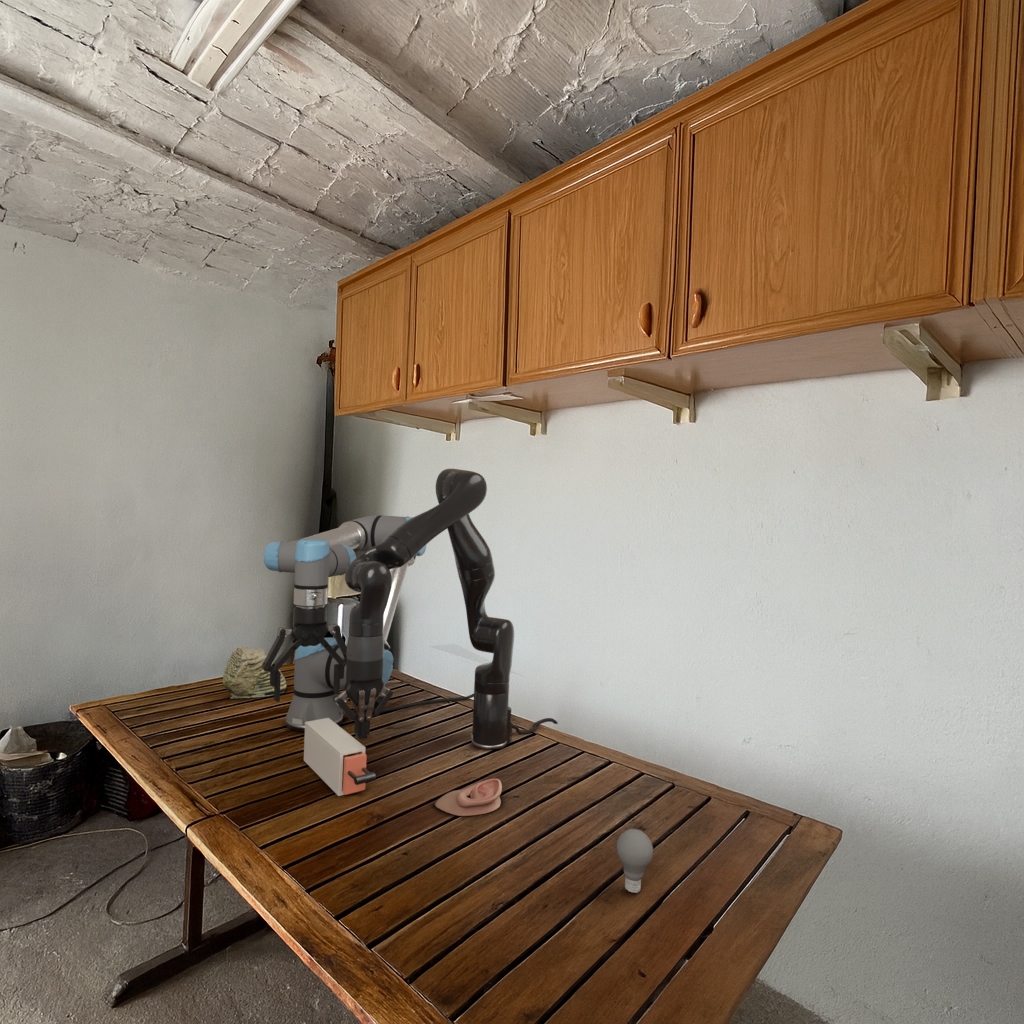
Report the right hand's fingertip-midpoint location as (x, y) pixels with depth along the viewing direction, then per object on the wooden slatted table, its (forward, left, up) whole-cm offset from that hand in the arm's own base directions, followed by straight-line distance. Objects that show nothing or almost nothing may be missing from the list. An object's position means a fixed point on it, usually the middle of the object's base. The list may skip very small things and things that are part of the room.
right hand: (362, 737), depth 133 cm
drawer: (+1, -10, -13) cm, 16 cm away
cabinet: (+1, -15, -13) cm, 20 cm away
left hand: (+6, -22, +3) cm, 23 cm away
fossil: (+6, -81, -13) cm, 83 cm away
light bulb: (-29, +51, -13) cm, 60 cm away
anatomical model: (-20, +12, -13) cm, 27 cm away
